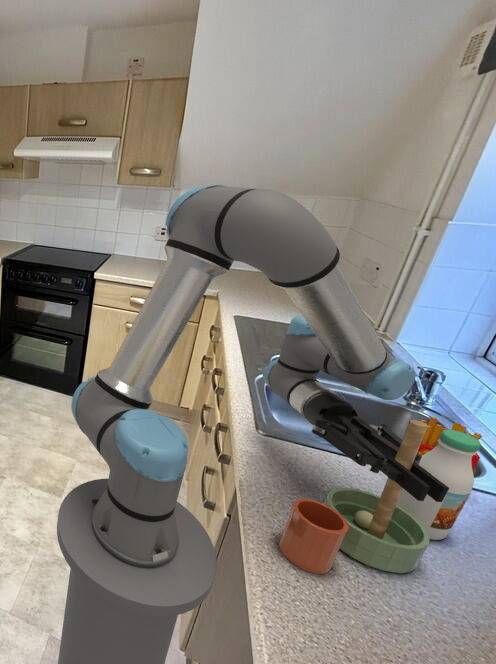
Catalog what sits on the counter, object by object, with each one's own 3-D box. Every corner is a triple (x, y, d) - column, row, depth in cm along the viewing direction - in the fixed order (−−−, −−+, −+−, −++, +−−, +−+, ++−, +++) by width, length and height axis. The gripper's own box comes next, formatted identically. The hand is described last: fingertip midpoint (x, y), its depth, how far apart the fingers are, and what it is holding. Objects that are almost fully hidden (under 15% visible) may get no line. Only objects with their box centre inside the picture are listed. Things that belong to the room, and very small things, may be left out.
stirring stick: (365, 545, 71) (413, 424, 64) (362, 537, 73) (407, 418, 65) (381, 550, 70) (430, 427, 63) (376, 542, 72) (424, 421, 65)
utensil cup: (281, 561, 70) (297, 521, 67) (277, 531, 76) (291, 492, 73) (334, 581, 67) (353, 540, 64) (325, 548, 73) (342, 508, 70)
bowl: (325, 552, 72) (336, 527, 70) (311, 502, 83) (321, 478, 81) (429, 589, 66) (444, 562, 64) (399, 529, 77) (412, 504, 75)
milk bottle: (404, 535, 76) (449, 445, 69) (380, 504, 83) (419, 420, 76) (457, 546, 74) (509, 455, 67) (428, 514, 81) (473, 428, 74)
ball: (356, 527, 76) (351, 510, 77) (356, 526, 78) (352, 509, 79) (378, 529, 74) (373, 511, 75) (378, 528, 76) (373, 510, 77)
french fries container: (459, 499, 84) (490, 442, 80) (399, 481, 89) (425, 426, 84) (447, 479, 90) (475, 425, 85) (391, 463, 95) (415, 410, 90)
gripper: (354, 425, 85) (475, 516, 63) (279, 421, 85) (372, 510, 63) (367, 393, 82) (498, 477, 60) (289, 389, 83) (390, 471, 61)
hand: (433, 494), depth 62 cm, fingers closed on stirring stick, 2 cm apart
